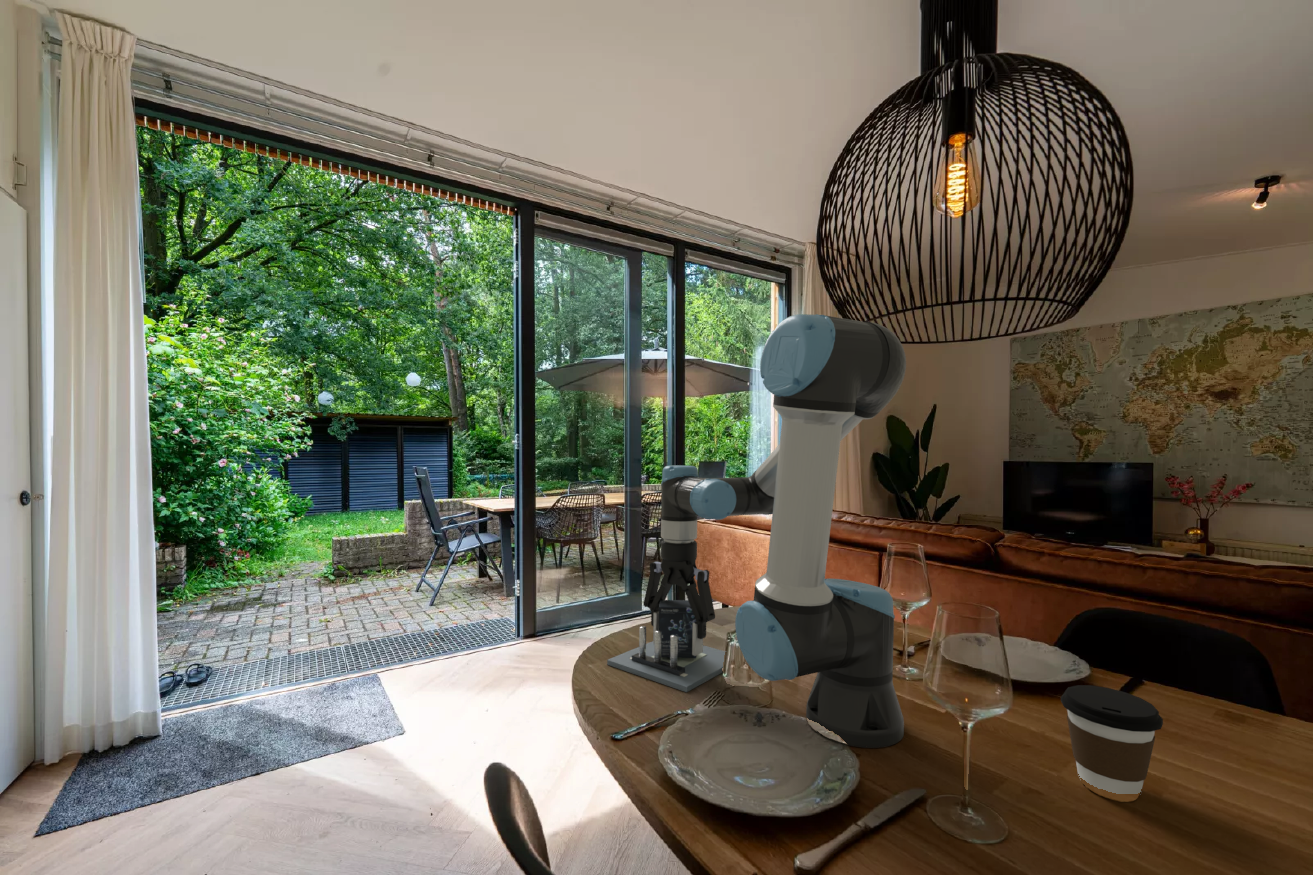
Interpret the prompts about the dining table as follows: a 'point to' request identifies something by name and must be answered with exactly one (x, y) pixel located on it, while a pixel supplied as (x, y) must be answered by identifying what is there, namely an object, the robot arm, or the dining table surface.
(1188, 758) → the dining table surface
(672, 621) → the box
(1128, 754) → the coffee cup
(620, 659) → the slate board
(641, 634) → the header pins
